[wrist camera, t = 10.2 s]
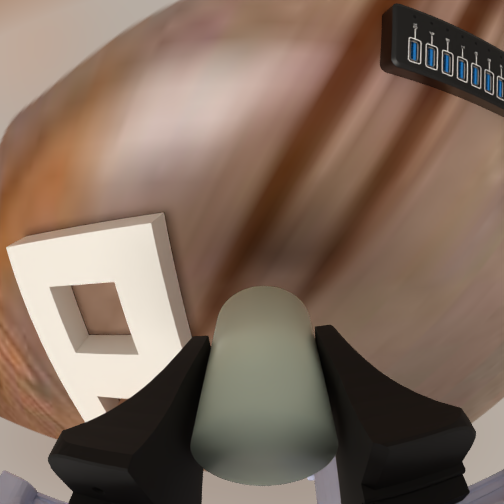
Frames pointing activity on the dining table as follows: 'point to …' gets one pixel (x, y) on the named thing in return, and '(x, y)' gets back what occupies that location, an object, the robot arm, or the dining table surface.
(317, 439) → the peg sage
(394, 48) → the multiport hub
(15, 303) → the dining table surface
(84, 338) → the white flat block
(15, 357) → the dining table surface
